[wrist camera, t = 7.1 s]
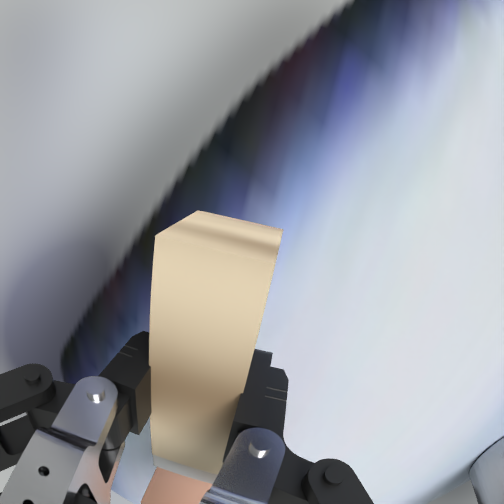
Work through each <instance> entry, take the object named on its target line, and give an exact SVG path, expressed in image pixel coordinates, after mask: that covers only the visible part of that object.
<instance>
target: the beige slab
mask: <svg viewBox="0 0 504 504" xmlns="http://www.w3.org/2000/svg"><path fill="white" fill-rule="evenodd" d="M282 233H283V229H279V228H275V227H270V226H266V225H262V224H257V223H253V222H248V221H244V220H239V219H235V218H230V217H226V216H221V215H217V214H212V213H207V212H203V211H196V212H195V213H193V214H191V215H189V216H188V217H186V218H184V219H183V220H181V221H179V222H177V223H176V224H174V225H172V226H171V227H169V228H167V229H166V230H164V231H162V232H161V233H159V234H157V235H156V237H155V248H154V260H153V273H152V288H151V306H150V334H149V366H151V412H152V413H151V415H150V428H151V445H152V454H153V464H154V466H157V467H159V468H162V469H165V470H168V471H171V472H174V473H177V474H180V475H183V476H186V477H190V478H193V479H196V480H200V481H203V482H207V483H211V484H213V482H214V481H215V479H216V477H217V475H218V473H219V471H220V469H221V467H222V465H223V462H222V461H223V457H224V453H225V449H226V446H227V442H228V438H229V434H230V431H231V427H232V423H233V419H234V416H235V412H236V409H237V405H238V401H239V398H240V394H241V393H243V391H244V387H245V384H246V380H247V376H248V372H249V368H250V364H251V361H252V357H253V353H254V349H255V345H256V341H257V337H258V333H259V329H260V325H261V321H262V317H263V313H264V309H265V305H266V301H267V297H268V292H269V288H270V284H271V280H272V276H273V272H274V267H275V263H276V259H277V255H278V250H279V246H280V242H281V237H282Z"/></svg>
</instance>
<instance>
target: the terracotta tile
mask: <svg viewBox="0 0 504 504" xmlns="http://www.w3.org/2000/svg"><path fill="white" fill-rule="evenodd" d="M211 486H212V484H211V483H207V482H203V481H200V480H196V479H193V478H190V477H186V476H183V475H180V474H177V473H174V472H171V471H168V470H165V469H162V468H159V467H157V468H156V470H155V472H154V475H153V477H152V479H151V481H150V483H149V485H148V487H147V490H146V492H145V494H144V496H143V498H142V500H141V504H199V503H200V501H201V499H202V497H203V496H204V494H205V493H206V491H207V490H209V489H210V488H211Z"/></svg>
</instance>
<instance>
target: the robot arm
mask: <svg viewBox="0 0 504 504" xmlns="http://www.w3.org/2000/svg"><path fill="white" fill-rule="evenodd" d="M149 334H150V333H148V332H145V331H142V332H140V333H138V334H136V335H134V336H132V337H131V339H130V340H129V341H128V342H127V343H126V344H125V346H124V347H123V348H122V349H121V350H120V352H119V353H118V354H117V355H116V356H115V357H114V358H113V359H112V361H111V362H110V363H109V364H108V365H107V367H106V368H105V369H104V370H103V371H102V372H101V374H100V375H99V376H90V377H86V378H83V379H81V380H80V381H79V382H78V383H77V384H69V383H64V382H60V381H55V380H53V377H52V374H51V372H50V370H49V369H48V368H46V367H45V366H43V365H40V364H27V365H24V366H21V367H19V368H16V369H14V370H11V371H8V372H5V373H3V374H0V423H1V422H3V421H5V420H8V419H10V418H13V417H15V416H18V415H20V414H22V413H24V412H26V414H27V415H26V416H24V417H21V418H19V419H17V420H14V421H12V422H10V423H7V424H5V425H2V426H0V471H2V470H5V469H7V468H9V467H11V466H14V465H16V464H17V465H16V467H15V469H14V470H13V472H12V474H11V476H10V478H9V480H8V482H7V484H6V486H5V488H4V490H3V492H2V493H0V504H110V491H111V486H112V483H113V480H114V477H115V474H116V471H117V468H118V465H119V462H120V459H121V456H122V453H123V450H124V447H125V439H126V437H127V435H128V433H129V432H132V433H135V434H137V435H139V434H140V432H141V431H142V429H143V427H144V425H145V424H146V422H147V420H148V418H149V416H150V415H151V413H152V412H151V366H149ZM271 359H272V353H271V352H266V351H262V350H258V349H254V353H253V357H252V361H251V364H250V368H249V372H248V376H247V380H246V384H245V387H244V391H243V393H241V394H240V398H239V401H238V405H237V409H236V412H235V416H234V419H233V423H232V427H231V431H230V434H229V438H228V442H227V446H226V449H225V453H224V457H223V461H222V462H223V465H222V467H221V469H220V471H219V473H218V475H217V477H216V479H215V481H214V482H213V484H212V486H211V488H210V489H209V490H207V491H206V493H205V494H204V496H203V497H202V499H201V501H200V503H199V504H374V503H373V501H372V500H371V498H370V497H369V495H368V493H367V492H366V490H365V489H364V487H363V485H362V484H361V482H360V481H359V479H358V477H357V476H356V474H355V472H354V471H353V469H352V468H351V467H350V466H349V465H347V464H346V463H344V462H342V461H340V460H337V459H322V460H319V461H317V462H316V463H313V462H310V461H308V460H306V459H303V458H301V457H299V456H297V455H296V454H294V453H293V452H292V451H290V450H289V448H288V447H287V446H286V444H285V442H284V438H283V430H284V421H285V411H286V400H287V391H288V378H287V376H286V374H285V372H284V370H283V369H279V368H274V367H270V365H271ZM469 476H470V479H471V482H472V485H473V488H474V491H475V494H476V498H477V502H478V504H504V438H502V439H501V440H499V441H498V442H497V443H495V444H494V445H493V446H492V447H490V448H489V449H488V450H487V451H486V452H485V453H483V454H482V455H481V456H480V457H479V458H478V459H477V461H476V462H475V463H474V464H473V466H472V467H471V469H470V472H469Z"/></svg>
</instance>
